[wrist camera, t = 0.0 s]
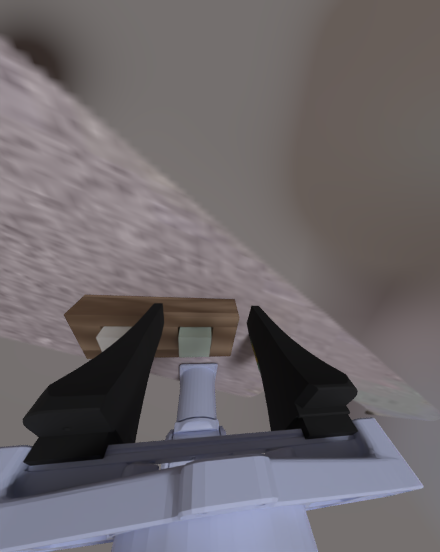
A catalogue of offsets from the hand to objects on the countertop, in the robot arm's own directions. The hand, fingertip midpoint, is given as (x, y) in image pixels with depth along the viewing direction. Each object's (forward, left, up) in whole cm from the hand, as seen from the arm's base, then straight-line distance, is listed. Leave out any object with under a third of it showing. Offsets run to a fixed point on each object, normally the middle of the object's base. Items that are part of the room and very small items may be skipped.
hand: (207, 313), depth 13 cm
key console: (-11, +6, -10) cm, 16 cm away
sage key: (-11, +1, -8) cm, 13 cm away
